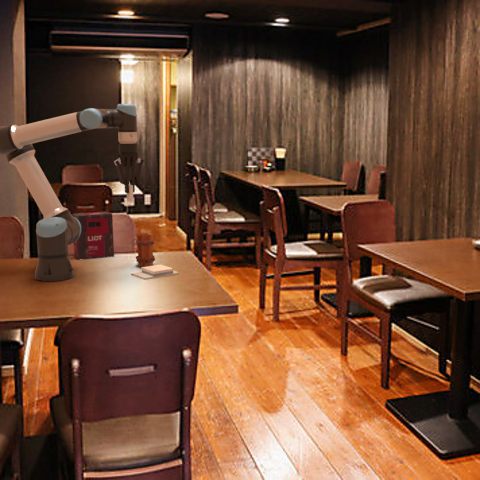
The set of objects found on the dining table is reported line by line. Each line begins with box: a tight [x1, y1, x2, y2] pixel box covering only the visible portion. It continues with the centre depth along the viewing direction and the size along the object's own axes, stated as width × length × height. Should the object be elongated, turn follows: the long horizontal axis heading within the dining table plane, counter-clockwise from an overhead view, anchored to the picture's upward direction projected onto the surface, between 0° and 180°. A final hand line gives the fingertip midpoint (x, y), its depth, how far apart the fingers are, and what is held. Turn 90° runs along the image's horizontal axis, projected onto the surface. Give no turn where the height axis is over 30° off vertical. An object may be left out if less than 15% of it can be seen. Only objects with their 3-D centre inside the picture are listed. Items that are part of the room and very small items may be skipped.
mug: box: [135, 228, 156, 267], centre depth 287 cm, size 15×8×15 cm, turn 14°
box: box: [71, 211, 115, 261], centre depth 305 cm, size 16×9×20 cm, turn 115°
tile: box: [140, 264, 174, 277], centre depth 270 cm, size 10×2×9 cm
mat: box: [130, 270, 180, 281], centre depth 271 cm, size 11×16×1 cm
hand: (130, 200), depth 272 cm, fingers closed
